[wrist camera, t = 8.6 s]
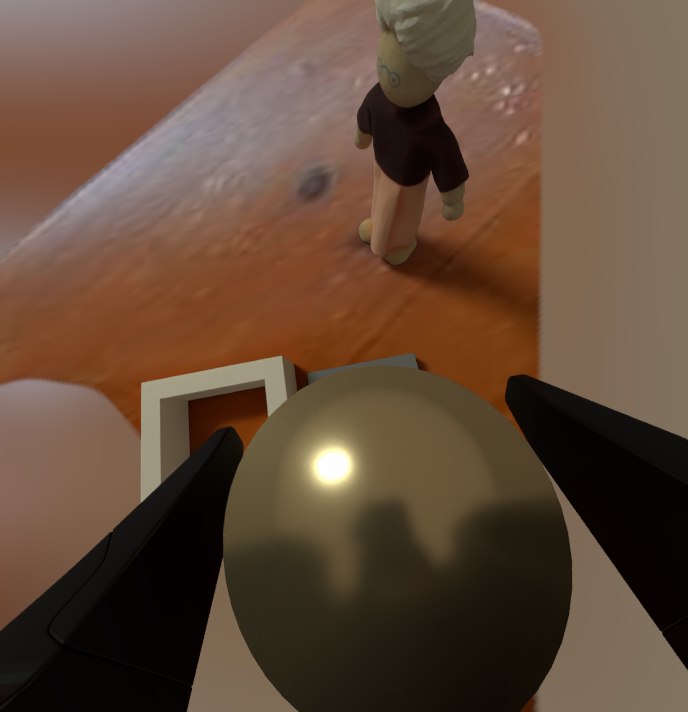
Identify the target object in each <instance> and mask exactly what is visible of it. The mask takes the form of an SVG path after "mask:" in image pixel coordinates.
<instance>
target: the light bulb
mask: <svg viewBox="0 0 688 712" xmlns="http://www.w3.org/2000/svg"><path fill="white" fill-rule="evenodd" d="M223 559H224V567H225V577H226V583H227V588H228V592H229V597H230V601H231V605H232V609H233V611H234V614H235V617H236V620H237V623H238V625H239V629H240V631H241V633H242V635H243V637H244V639H245V641H246V643H247V645H248V647H249V650H250V652H251V654H252V655H253V657H254V658H255V660H256V662H257V663H258V665H259V666H260V668H261V669H262V671H263V672H264V674H265V676H266V677H267V678H268V680H269V681H270V682H271V683H272V684H273V686H274V687H275V688H276V689H277V690H278V691H279V693H280V694H281V695H282V696H283V697H284V698H285V699H286V700H287V701H288V702H289V703H290V704H291V705H292V706H293V707H294V708H295V709H296V710H298V711H299V712H519V711H520V710H521V709H522V708H523V707H524V706H525V705H526V703H527V702H528V701H529V700H530V699H531V697H532V696H533V695H534V694H535V693H536V692H537V690H538V689H539V687H540V685H541V684H542V682H543V680H544V679H545V677H546V675H547V674H548V672H549V670H550V669H551V667H552V665H553V662H554V660H555V658H556V655H557V653H558V650H559V648H560V646H561V643H562V640H563V636H564V632H565V629H566V625H567V620H568V616H569V610H570V602H571V593H572V558H571V551H570V544H569V537H568V531H567V527H566V524H565V520H564V516H563V512H562V508H561V506H560V503H559V500H558V498H557V495H556V493H555V490H554V488H553V485H552V482H551V481H550V479H549V477H548V475H547V473H546V471H545V470H544V467H543V466H542V464H541V462H540V460H539V458H538V457H537V456H536V454H535V453H534V451H533V450H532V448H531V447H530V445H529V444H528V443H527V441H526V440H525V438H524V437H523V436H522V435H521V434H520V433H519V432H518V430H517V429H516V428H515V427H514V426H513V425H512V424H511V422H510V421H509V420H508V419H507V418H505V417H504V416H503V415H502V414H501V413H500V412H499V411H498V410H497V409H496V408H494V407H493V406H492V405H491V404H489V403H488V402H487V401H485V400H484V399H482V398H481V397H480V396H478V395H477V394H475V393H474V392H472V391H471V390H469V389H467V388H465V387H463V386H462V385H460V384H458V383H456V382H454V381H452V380H449V379H447V378H444V377H442V376H439V375H437V374H434V373H431V372H427V371H423V370H419V369H416V368H409V367H402V366H395V365H373V366H365V367H356V368H352V369H348V370H344V371H340V372H336V373H334V374H331V375H329V376H326V377H324V378H321V379H319V380H317V381H315V382H313V383H311V384H310V385H308V386H306V387H304V388H302V389H301V390H299V391H298V392H297V393H295V394H294V395H293V396H291V397H290V398H289V399H287V400H286V401H285V402H284V403H283V404H282V405H281V406H279V407H278V408H277V409H276V410H275V411H274V412H273V413H272V414H271V415H270V416H269V418H268V419H267V420H266V421H265V423H264V424H263V425H262V426H261V427H260V429H259V430H258V431H257V433H256V434H255V436H254V438H253V439H252V441H251V442H250V444H249V445H248V447H247V449H246V451H245V453H244V455H243V457H242V459H241V461H240V463H239V465H238V468H237V471H236V474H235V477H234V479H233V482H232V485H231V488H230V493H229V497H228V502H227V506H226V512H225V521H224V530H223Z"/></svg>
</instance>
